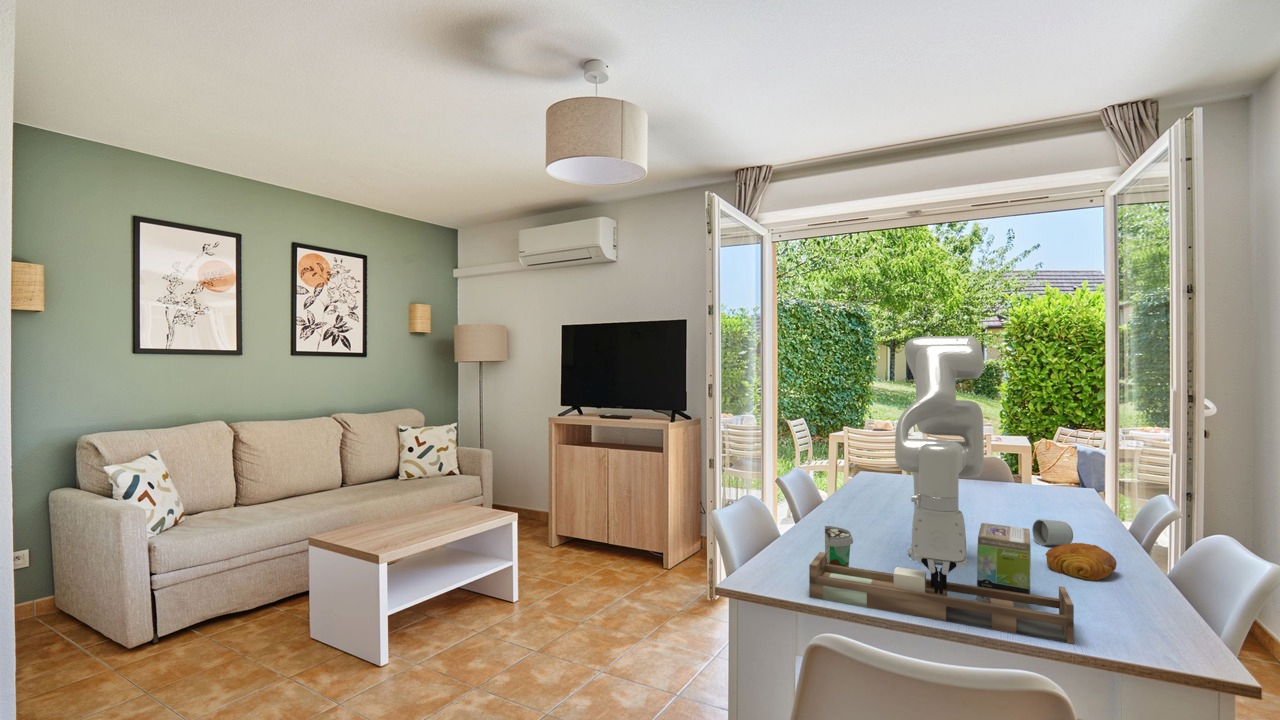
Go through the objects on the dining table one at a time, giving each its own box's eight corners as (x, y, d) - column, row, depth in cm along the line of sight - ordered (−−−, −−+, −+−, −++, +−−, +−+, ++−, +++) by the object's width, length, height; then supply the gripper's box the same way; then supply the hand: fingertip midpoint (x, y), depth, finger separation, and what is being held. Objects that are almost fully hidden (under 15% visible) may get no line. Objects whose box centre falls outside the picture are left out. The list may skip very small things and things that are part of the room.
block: (895, 585, 133) (895, 566, 133) (926, 589, 130) (925, 571, 130) (893, 592, 128) (893, 573, 128) (924, 597, 126) (924, 578, 126)
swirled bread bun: (1123, 582, 151) (1125, 549, 152) (1104, 586, 142) (1106, 551, 142) (1056, 565, 163) (1058, 535, 163) (1035, 568, 153) (1037, 536, 154)
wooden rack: (819, 581, 143) (819, 552, 144) (1065, 622, 121) (1064, 587, 121) (809, 596, 134) (809, 565, 134) (1073, 643, 111) (1073, 605, 111)
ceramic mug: (1075, 548, 172) (1075, 522, 172) (1049, 548, 172) (1048, 522, 172) (1050, 539, 182) (1049, 514, 183) (1024, 539, 182) (1024, 514, 182)
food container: (856, 581, 144) (856, 539, 144) (829, 579, 145) (829, 537, 145) (849, 565, 156) (849, 526, 156) (824, 563, 157) (824, 525, 157)
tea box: (1031, 614, 125) (1031, 542, 125) (976, 604, 130) (975, 535, 130) (1030, 592, 138) (1029, 526, 138) (979, 583, 143) (979, 520, 143)
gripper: (898, 503, 127) (898, 590, 127) (979, 510, 120) (980, 603, 120) (901, 496, 134) (901, 580, 133) (978, 503, 127) (979, 591, 126)
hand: (938, 591), depth 127 cm, fingers closed
